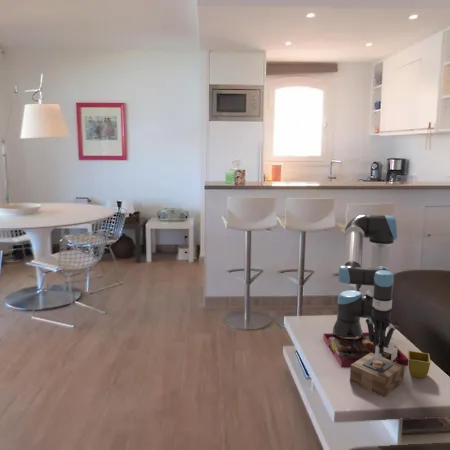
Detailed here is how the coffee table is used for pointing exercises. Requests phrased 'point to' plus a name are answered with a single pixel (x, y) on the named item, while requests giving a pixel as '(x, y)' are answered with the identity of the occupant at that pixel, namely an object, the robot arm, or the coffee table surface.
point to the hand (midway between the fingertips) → (377, 359)
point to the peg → (377, 364)
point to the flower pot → (418, 363)
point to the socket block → (377, 375)
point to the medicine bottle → (390, 351)
